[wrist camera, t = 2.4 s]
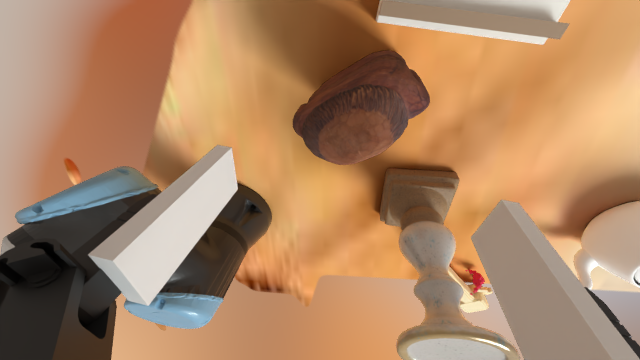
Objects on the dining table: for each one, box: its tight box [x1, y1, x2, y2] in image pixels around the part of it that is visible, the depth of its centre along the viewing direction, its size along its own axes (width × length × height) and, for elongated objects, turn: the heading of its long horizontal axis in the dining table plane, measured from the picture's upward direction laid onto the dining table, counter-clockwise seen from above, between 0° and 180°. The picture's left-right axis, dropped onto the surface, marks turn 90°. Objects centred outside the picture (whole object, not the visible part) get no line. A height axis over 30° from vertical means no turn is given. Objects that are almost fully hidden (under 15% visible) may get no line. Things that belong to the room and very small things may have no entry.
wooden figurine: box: [293, 50, 430, 165], centre depth 23 cm, size 12×6×18 cm, turn 119°
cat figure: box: [448, 266, 493, 313], centre depth 46 cm, size 10×9×25 cm
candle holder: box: [380, 168, 520, 360], centre depth 30 cm, size 11×11×24 cm
